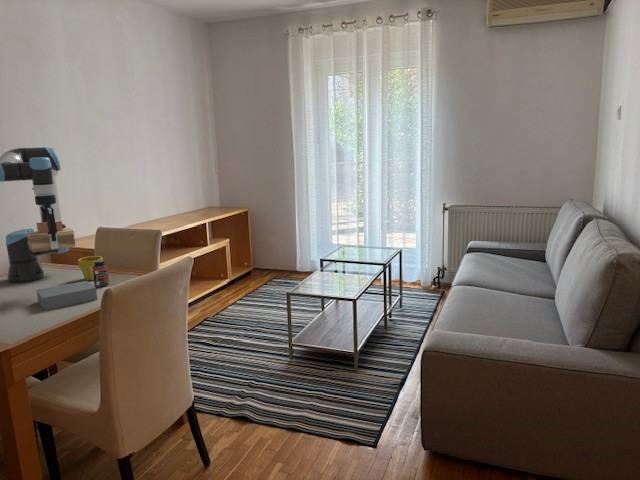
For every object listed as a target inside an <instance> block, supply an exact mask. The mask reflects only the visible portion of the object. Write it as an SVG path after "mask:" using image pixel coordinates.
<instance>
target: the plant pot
mask: <svg viewBox="0 0 640 480" xmlns="http://www.w3.org/2000/svg"><path fill="white" fill-rule="evenodd" d="M98 260H103V257H102V256H100V255H93V256H85V257H81V258H79V259H78V260H77V265H78V267H79V268H80V269H81V272H82V275H83V277H84V281H94V276H93V267H94V266H95V263H94V262H95V261H98Z"/></svg>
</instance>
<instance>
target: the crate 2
mask: <svg viewBox="0 0 640 480" xmlns="http://www.w3.org/2000/svg"><path fill="white" fill-rule="evenodd" d="M55 222H56V227H57V231H63V227H62V223H63V222H62V220H61V221H55Z"/></svg>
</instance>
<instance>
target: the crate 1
mask: <svg viewBox="0 0 640 480" xmlns="http://www.w3.org/2000/svg"><path fill="white" fill-rule="evenodd" d="M36 230H37V231H38V233H39V234H40V233H48V232H49V229H48V225H47V222H36Z"/></svg>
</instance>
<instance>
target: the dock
mask: <svg viewBox="0 0 640 480" xmlns="http://www.w3.org/2000/svg"><path fill="white" fill-rule="evenodd" d="M36 297H37V302H38V304H39V305H40V306H41V308H42V309H43V311H49V310H53V309H59V308H63V307H68V306H73V305H77V304H82V303H87V302H91V301H97V300H98V293H97V287H96V286H95V285H93V284H92V283H91V282H89V280H84V281H79V282H72V283H68V284H62V285H56V286H51V287H45V288H40V289H36Z"/></svg>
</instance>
